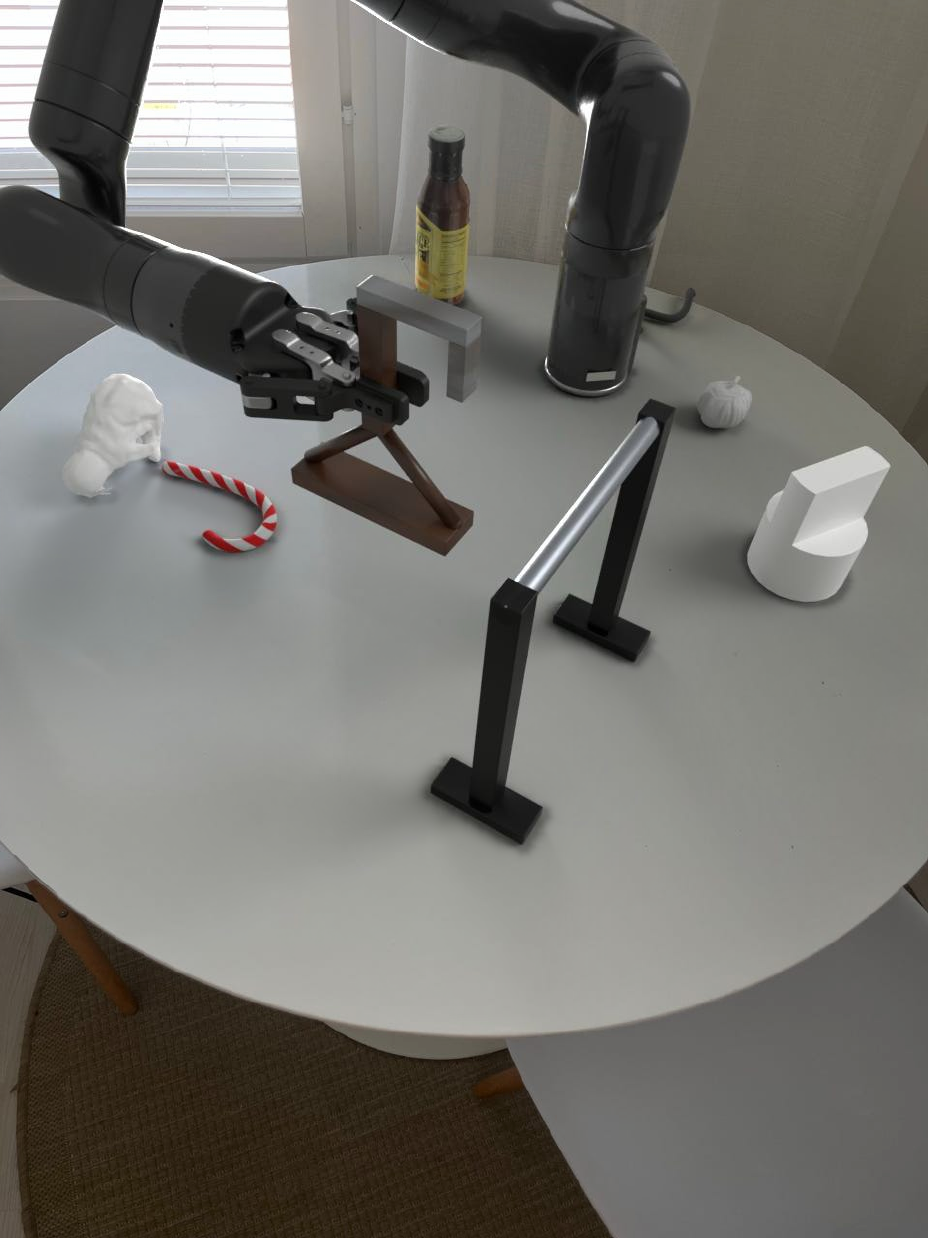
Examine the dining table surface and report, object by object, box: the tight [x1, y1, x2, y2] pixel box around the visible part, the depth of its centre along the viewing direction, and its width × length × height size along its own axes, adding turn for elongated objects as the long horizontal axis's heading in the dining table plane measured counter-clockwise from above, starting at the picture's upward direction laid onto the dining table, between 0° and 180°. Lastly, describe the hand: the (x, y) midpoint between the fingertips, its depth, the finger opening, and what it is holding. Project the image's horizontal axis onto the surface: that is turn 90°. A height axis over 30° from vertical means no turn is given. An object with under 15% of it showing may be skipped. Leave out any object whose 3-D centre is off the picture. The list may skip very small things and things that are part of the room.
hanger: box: [290, 274, 483, 558], centre depth 62 cm, size 14×4×18 cm, turn 59°
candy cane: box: [161, 460, 278, 553], centre depth 87 cm, size 8×1×15 cm
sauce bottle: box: [414, 124, 471, 306], centre depth 105 cm, size 7×6×20 cm
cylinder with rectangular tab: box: [746, 445, 891, 603], centre depth 81 cm, size 9×9×12 cm
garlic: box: [696, 375, 753, 429], centre depth 98 cm, size 6×5×5 cm
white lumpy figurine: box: [62, 373, 165, 499], centre depth 87 cm, size 6×8×12 cm
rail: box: [430, 398, 677, 846], centre depth 65 cm, size 23×8×24 cm, turn 149°
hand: (415, 401), depth 60 cm, fingers closed on hanger, 2 cm apart
